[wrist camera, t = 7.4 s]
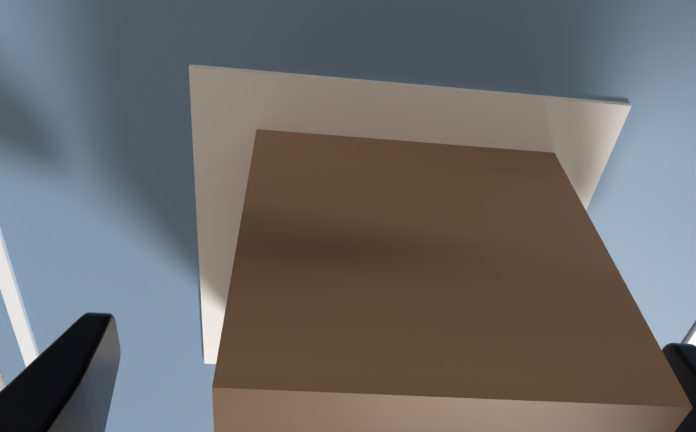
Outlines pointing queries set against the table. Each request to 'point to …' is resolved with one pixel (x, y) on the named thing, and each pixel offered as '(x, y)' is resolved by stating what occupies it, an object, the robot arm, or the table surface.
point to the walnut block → (428, 298)
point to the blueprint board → (317, 118)
